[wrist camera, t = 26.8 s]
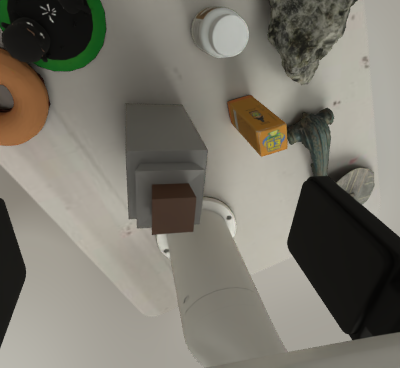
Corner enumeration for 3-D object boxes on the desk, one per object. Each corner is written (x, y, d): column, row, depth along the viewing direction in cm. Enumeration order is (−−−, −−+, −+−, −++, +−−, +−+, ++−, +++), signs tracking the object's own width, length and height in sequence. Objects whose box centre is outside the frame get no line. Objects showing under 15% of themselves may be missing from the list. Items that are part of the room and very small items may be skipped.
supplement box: (230, 125, 39) (259, 159, 31) (226, 100, 38) (255, 128, 29) (254, 118, 40) (289, 150, 31) (251, 93, 38) (287, 119, 29)
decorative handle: (277, 122, 40) (294, 136, 36) (322, 97, 40) (345, 108, 36) (304, 198, 48) (321, 217, 44) (342, 178, 48) (363, 195, 44)
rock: (282, 3, 38) (253, -48, 30) (358, -27, 34) (349, -97, 25) (290, 98, 38) (262, 73, 29) (367, 81, 33) (361, 46, 25)
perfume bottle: (179, 155, 40) (212, 246, 25) (127, 155, 39) (129, 253, 23) (182, 104, 37) (222, 175, 22) (125, 103, 35) (125, 178, 20)
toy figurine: (126, 21, 31) (127, 25, 26) (65, 91, 33) (55, 106, 28) (36, -76, 26) (16, -94, 21) (-29, 14, 28) (-62, 16, 23)
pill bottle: (230, 6, 32) (256, 7, 26) (228, 50, 35) (252, 61, 28) (190, 7, 32) (206, 7, 25) (191, 52, 34) (206, 63, 27)
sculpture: (322, 241, 53) (345, 250, 45) (292, 198, 53) (309, 200, 45) (376, 201, 53) (409, 204, 45) (347, 159, 53) (374, 154, 45)
